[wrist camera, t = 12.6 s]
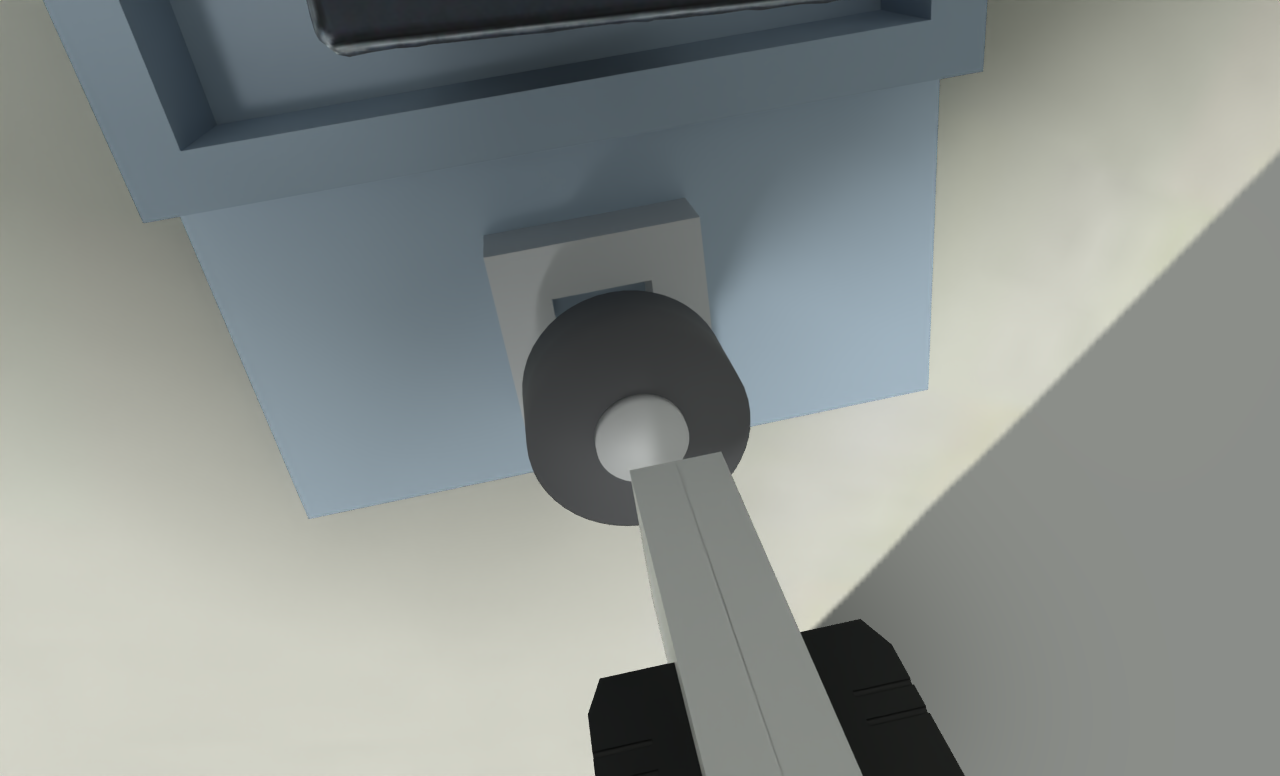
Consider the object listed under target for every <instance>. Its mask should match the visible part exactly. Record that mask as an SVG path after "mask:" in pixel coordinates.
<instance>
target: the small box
mask: <svg viewBox="0 0 1280 776" xmlns="http://www.w3.org/2000/svg"><path fill="white" fill-rule="evenodd" d="M306 1H307V5H308V10H309V14H310V18H311V21H312V24H313V28H314V31H315V33H316V35H317V37H318V39H319V41H321V42H322V43H323V44H325V45H326V46H327V47H329V48H330V49H331V50H332V51H334V52H335V53H336V54H337V55H341V56H347V57H352V56H356V55H361V54H366V53H370V52H377V51H383V50H389V49H396V48H411V47H420V46H426V45H431V44H442V43H452V42H461V41H470V40H479V39H489V38H498V37H508V36H517V35H528V34H541V33H551V32H558V31H564V30H571V29H578V28H585V27H593V26H601V25H609V24H623V23H629V22H649V21H653V20H665V19H679V18H687V17H695V16H706V15H715V14H724V13H730V12H737V11H743V10H766V9H772V8H779V7H785V6H792V5H799V4H822V3H829V2H833V1H838V0H306Z"/></svg>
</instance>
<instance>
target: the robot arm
mask: <svg viewBox="0 0 1280 776" xmlns="http://www.w3.org/2000/svg"><path fill="white" fill-rule="evenodd" d="M630 476H631V482H632V487H633V493H634V498H635V504H636V510H637V515H638V521H639V527H640V532H641V538H642V543H643V549H644V555H645V560H646V566H647V572H648V577H649V583H650V588H651V594H652V599H653V603H654V608H655V612H656V616H657V620H658V624H659V629H660V633H661V637H662V641H663V646H664V650H665V654H666V658H667V663H668V664H664V665H659V666H655V667H650V668H646V669H641V670H637V671H632V672H628V673H623V674H618V675H614V676H609V677H605V678H600V680H599V683H598V686H597V689H596V692H595V695H594V698H593V701H592V704H591V707H590V710H589V713H588V719H589V727H590V736H591V744H592V752H593V758H594V759H593V761H594V769H595V776H964V773H963V772H962V770H961V769H960V767H959V765H958V763H957V761H956V759H955V758H954V756H953V754H952V752H951V750H950V748H949V747H948V745H947V743H946V741H945V740H944V738H943V736H942V734H941V733H940V731H939V729H938V727H937V725H936V723H935V722H934V720H933V718H932V716H931V714H930V713H928V712H927V710H926V705H925V704H924V702H923V700H922V698H921V696H920V695H919V693H918V691H917V689H916V688H915V686H914V685H912V683H911V680H910V677H909V675H908V673H907V671H906V670H905V668H904V666H903V664H902V662H901V661H900V659H899V657H898V655H897V653H896V652H895V650H894V648H893V646H892V645H891V644H890V643H889V642H888V641H887V640H885V639H884V638H883V637H882V636H881V635H879V634H878V633H877V632H876V631H874V630H873V629H872V628H871V627H869V626H868V625H867V624H866V623H865V622H863V621H862V620H861V619H859V620H854V621H849V622H845V623H840V624H836V625H831V626H827V627H822V628H817V629H813V630H808V631H804V632H800V631H799V629H798V626H797V624H796V622H795V619H794V617H793V615H792V613H791V610H790V608H789V606H788V603H787V601H786V599H785V597H784V594H783V592H782V590H781V587H780V585H779V583H778V581H777V578H776V576H775V574H774V571H773V569H772V567H771V565H770V562H769V560H768V558H767V555H766V553H765V551H764V548H763V546H762V544H761V542H760V539H759V537H758V535H757V532H756V530H755V528H754V526H753V523H752V521H751V519H750V516H749V514H748V512H747V510H746V507H745V505H744V503H743V500H742V498H741V496H740V493H739V491H738V489H737V487H736V484H735V482H734V480H733V477H732V475H731V473H730V471H729V468H728V466H727V464H726V461H725V459H724V457H723V455H722V452H717V453H712V454H707V455H702V456H697V457H692V458H688V459H683V460H678V461H673V462H668V463H663V464H658V465H653V466H648V467H643V468H639V469H634V470H630Z"/></svg>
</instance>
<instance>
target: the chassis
mask: <svg viewBox="0 0 1280 776" xmlns="http://www.w3.org/2000/svg"><path fill="white" fill-rule="evenodd" d="M43 2H44V4H45V6H46V8H47V11H48V13H49V15H50V17H51V19H52V22H53V24H54V26H55V28H56V31H57V33H58V35H59V37H60V39H61V42H62V44H63V46H64V48H65V50H66V53H67V55H68V57H69V59H70V62H71V64H72V66H73V68H74V70H75V73H76V75H77V77H78V79H79V82H80V84H81V86H82V88H83V90H84V93H85V95H86V97H87V99H88V102H89V104H90V106H91V108H92V110H93V113H94V115H95V117H96V119H97V122H98V124H99V126H100V128H101V130H102V133H103V135H104V137H105V139H106V141H107V144H108V146H109V148H110V150H111V153H112V155H113V157H114V159H115V161H116V164H117V166H118V168H119V170H120V173H121V175H122V177H123V179H124V181H125V184H126V186H127V188H128V190H129V193H130V195H131V197H132V199H133V201H134V204H135V206H136V208H137V210H138V212H139V215H140V217H141V219H142V221H143V223H147V222H153V221H158V220H164V219H169V218H175V217H180V218H181V220H182V223H183V225H184V228H185V230H186V232H187V235H188V237H189V239H190V242H191V244H192V246H193V249H194V251H195V253H196V256H197V258H198V260H199V263H200V265H201V267H202V270H203V272H204V274H205V277H206V279H207V281H208V284H209V286H210V288H211V291H212V293H213V296H214V298H215V300H216V303H217V305H218V307H219V310H220V312H221V314H222V317H223V319H224V321H225V324H226V326H227V328H228V331H229V333H230V335H231V338H232V340H233V342H234V345H235V347H236V349H237V352H238V354H239V357H240V359H241V361H242V364H243V366H244V368H245V371H246V373H247V375H248V378H249V380H250V382H251V385H252V387H253V389H254V392H255V394H256V396H257V399H258V401H259V403H260V406H261V408H262V410H263V413H264V415H265V417H266V420H267V422H268V425H269V427H270V429H271V432H272V434H273V436H274V439H275V441H276V443H277V446H278V448H279V450H280V453H281V455H282V457H283V460H284V462H285V464H286V467H287V469H288V471H289V474H290V476H291V478H292V481H293V483H294V486H295V488H296V490H297V493H298V495H299V497H300V500H301V502H302V504H303V507H304V509H305V511H306V514H307V516H308V518H309V519H311V518H316V517H321V516H326V515H330V514H335V513H340V512H345V511H350V510H354V509H359V508H364V507H369V506H373V505H378V504H383V503H388V502H393V501H397V500H402V499H407V498H412V497H416V496H421V495H426V494H431V493H436V492H440V491H445V490H450V489H455V488H459V487H464V486H469V485H474V484H479V483H483V482H488V481H493V480H498V479H503V478H507V477H512V476H517V475H522V474H526V473H531V472H534V471H533V469H532V466H531V463H530V460H529V457H528V451H527V445H526V432H525V420H524V408H523V396H522V381H523V374H524V369H525V365H526V362H527V358H528V356H529V354H530V352H531V350H532V347H533V346H534V344H535V343H536V341H537V339H538V338H539V336H540V335H541V334H542V332H543V331H544V330H545V329H546V328H547V326H548V325H549V324H550V323H552V322H553V321H554V320H555V319H556V318H557V317H558V316H559V315H561V314H562V313H563V312H565V311H566V310H568V309H569V308H571V307H572V306H574V305H576V304H578V303H580V302H582V301H584V300H587V299H589V298H592V297H594V296H597V295H601V294H605V293H609V292H616V291H623V290H639V291H648V292H654V293H658V294H662V295H665V296H668V297H670V298H673V299H675V300H678V301H679V302H681V303H683V304H685V305H686V306H688V307H689V308H691V309H692V310H693V311H695V312H696V313H697V314H698V315H699V316H700V317H701V318H702V319H703V320H704V321H705V322H706V323H707V324H708V325H709V327H710V328H711V330H712V331H713V332H714V334H715V336H716V338H717V339H718V341H719V343H720V345H721V346H722V348H723V350H724V352H725V353H726V355H727V357H728V359H729V360H730V362H731V364H732V366H733V367H734V369H735V371H736V373H737V374H738V376H739V378H740V380H741V382H742V384H743V386H744V388H745V391H746V394H747V397H748V400H749V407H750V427H751V426H756V425H761V424H766V423H770V422H775V421H780V420H785V419H789V418H794V417H799V416H804V415H809V414H813V413H818V412H823V411H828V410H832V409H837V408H842V407H847V406H852V405H856V404H861V403H866V402H871V401H875V400H880V399H885V398H890V397H895V396H899V395H904V394H909V393H914V392H919V391H923V390H928V379H929V353H930V326H931V300H932V273H933V247H934V220H935V194H936V167H937V140H938V114H939V87H940V79H944V78H949V77H955V76H960V75H966V74H971V73H977V72H983V65H984V49H985V32H986V16H987V0H838V1H833V2H829V3H822V4H799V5H792V6H785V7H779V8H772V9H766V10H743V11H737V12H730V13H724V14H715V15H706V16H695V17H687V18H679V19H665V20H653V21H649V22H629V23H623V24H609V25H601V26H593V27H585V28H578V29H571V30H564V31H558V32H551V33H541V34H528V35H517V36H508V37H498V38H489V39H479V40H470V41H461V42H452V43H442V44H431V45H426V46H420V47H411V48H396V49H389V50H383V51H377V52H370V53H366V54H361V55H356V56H352V57H347V56H341V55H337V54H336V53H335V52H334V51H332V50H331V49H330V48H329V47H327V46H326V45H325V44H323V43H322V42H321V41H319V39H318V37H317V35H316V33H315V31H314V28H313V24H312V21H311V18H310V14H309V10H308V5H307V1H306V0H43Z"/></svg>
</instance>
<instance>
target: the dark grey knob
mask: <svg viewBox="0 0 1280 776" xmlns="http://www.w3.org/2000/svg"><path fill="white" fill-rule="evenodd" d="M522 396H523V408H524V420H525V432H526V445H527V451H528V457H529V460H530V463H531V466H532V469H533V471H534V473H535V475H536V477H537V479H538V481H539V482H540V484H541V485H542V487H543V488H544V489H545V491H546V492H547V493H548V494H549V495H550V496H551V497H552V498H553V499H554V500H555V501H556V502H558V503H559V504H560V505H562V506H563V507H564V508H566V509H567V510H569V511H571V512H573V513H574V514H576V515H579V516H581V517H583V518H586V519H588V520H592V521H595V522H599V523H603V524H609V525H619V526H636V525H639V521H638V515H637V510H636V504H635V498H634V493H633V487H632V482H631V476H630V470H634V469H639V468H643V467H648V466H653V465H658V464H663V463H668V462H673V461H678V460H683V459H688V458H692V457H697V456H702V455H707V454H712V453H717V452H722V455H723V457H724V459H725V461H726V464H727V466H728V468H729V471H730V473H731V475H732V473H733V472H734V470H735V469H736V467H737V465H738V464H739V462H740V460H741V458H742V455H743V453H744V451H745V448H746V445H747V441H748V438H749V432H750V407H749V400H748V397H747V394H746V391H745V388H744V386H743V384H742V382H741V380H740V378H739V376H738V374H737V373H736V371H735V369H734V367H733V366H732V364H731V362H730V360H729V359H728V357H727V355H726V353H725V352H724V350H723V348H722V346H721V345H720V343H719V341H718V339H717V338H716V336H715V334H714V332H713V331H712V330H711V328H710V327H709V325H708V324H707V323H706V322H705V321H704V320H703V319H702V318H701V317H700V316H699V315H698V314H697V313H696V312H695V311H693V310H692V309H691V308H689V307H688V306H686V305H685V304H683V303H681V302H679V301H678V300H675V299H673V298H670V297H668V296H665V295H662V294H658V293H654V292H648V291H639V290H623V291H616V292H609V293H605V294H601V295H597V296H594V297H592V298H589V299H587V300H584V301H582V302H580V303H578V304H576V305H574V306H572V307H571V308H569V309H568V310H566V311H565V312H563V313H562V314H561V315H559V316H558V317H557V318H556V319H555V320H554V321H553V322H552V323H550V324H549V325H548V326H547V328H546V329H545V330H544V331H543V332H542V334H541V335H540V336H539V338H538V339H537V341H536V343H535V344H534V346H533V347H532V350H531V352H530V354H529V356H528V358H527V362H526V365H525V369H524V374H523V381H522Z"/></svg>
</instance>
